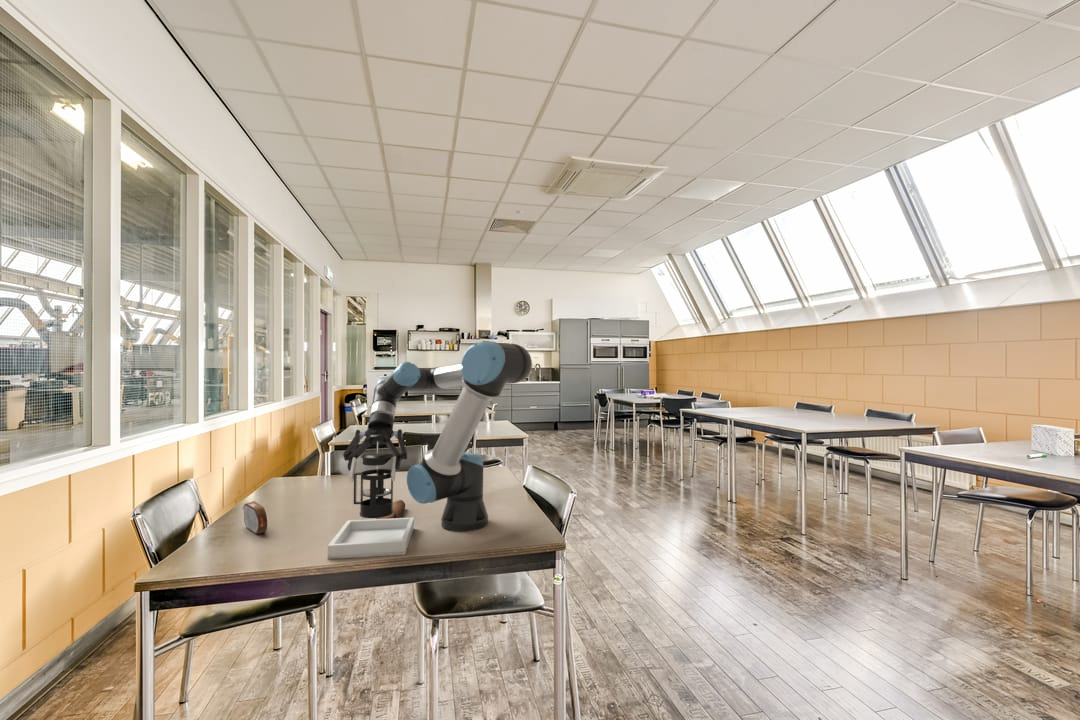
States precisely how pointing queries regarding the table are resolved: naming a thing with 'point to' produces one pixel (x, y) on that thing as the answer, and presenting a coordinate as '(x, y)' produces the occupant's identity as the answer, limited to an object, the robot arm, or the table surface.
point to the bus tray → (372, 538)
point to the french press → (375, 486)
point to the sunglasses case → (396, 510)
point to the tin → (255, 517)
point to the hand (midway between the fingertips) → (372, 478)
